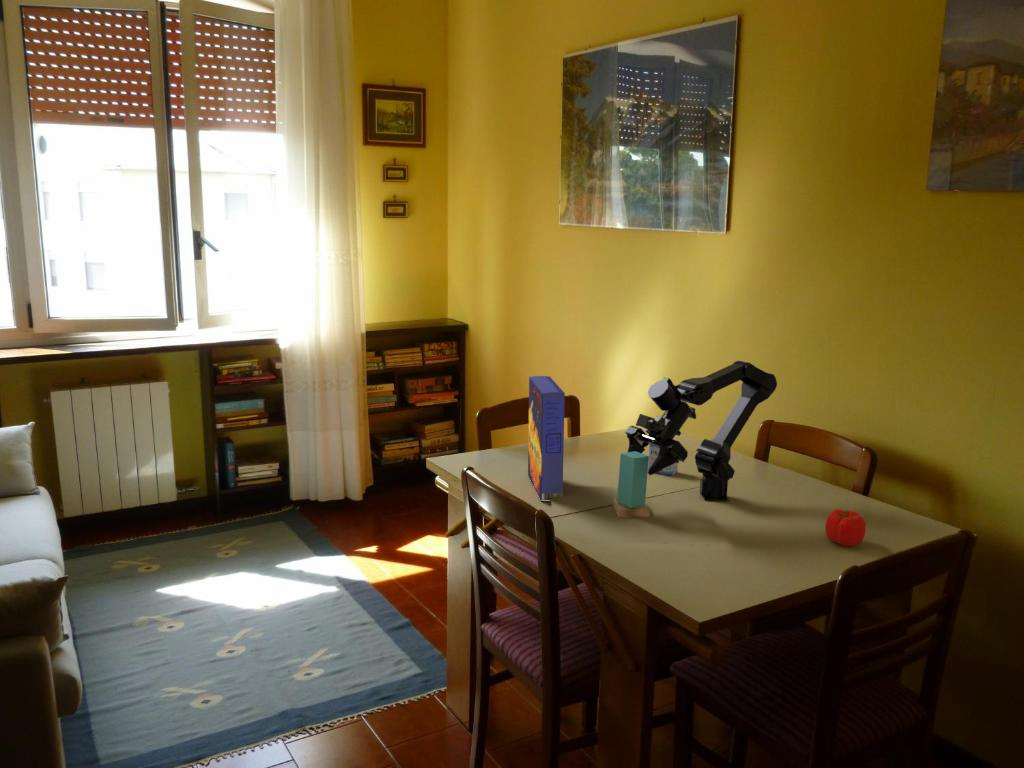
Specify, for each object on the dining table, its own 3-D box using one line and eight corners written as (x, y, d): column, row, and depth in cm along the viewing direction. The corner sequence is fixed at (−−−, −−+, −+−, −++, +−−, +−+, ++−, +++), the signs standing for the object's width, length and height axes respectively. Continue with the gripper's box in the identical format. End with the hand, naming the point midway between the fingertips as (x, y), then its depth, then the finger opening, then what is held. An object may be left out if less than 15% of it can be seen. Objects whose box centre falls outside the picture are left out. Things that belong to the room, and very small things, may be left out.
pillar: (631, 499, 219) (635, 451, 217) (644, 505, 215) (648, 456, 213) (617, 502, 217) (620, 453, 214) (630, 508, 213) (634, 458, 210)
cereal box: (528, 476, 248) (529, 375, 242) (548, 475, 249) (549, 375, 242) (540, 501, 227) (542, 392, 220) (562, 500, 228) (564, 391, 221)
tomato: (824, 533, 206) (827, 504, 205) (863, 538, 203) (866, 509, 201) (823, 547, 198) (826, 517, 196) (864, 553, 194) (867, 522, 193)
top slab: (644, 506, 221) (644, 498, 220) (649, 517, 213) (650, 509, 212) (613, 506, 220) (613, 498, 220) (617, 517, 213) (618, 509, 212)
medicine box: (647, 472, 253) (648, 444, 251) (652, 468, 256) (653, 440, 255) (673, 476, 249) (674, 447, 247) (677, 472, 253) (679, 444, 251)
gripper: (631, 395, 222) (597, 442, 218) (681, 410, 206) (644, 460, 203) (653, 420, 227) (620, 466, 224) (703, 436, 212) (668, 486, 208)
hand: (637, 469), depth 215 cm, fingers open, 9 cm apart
